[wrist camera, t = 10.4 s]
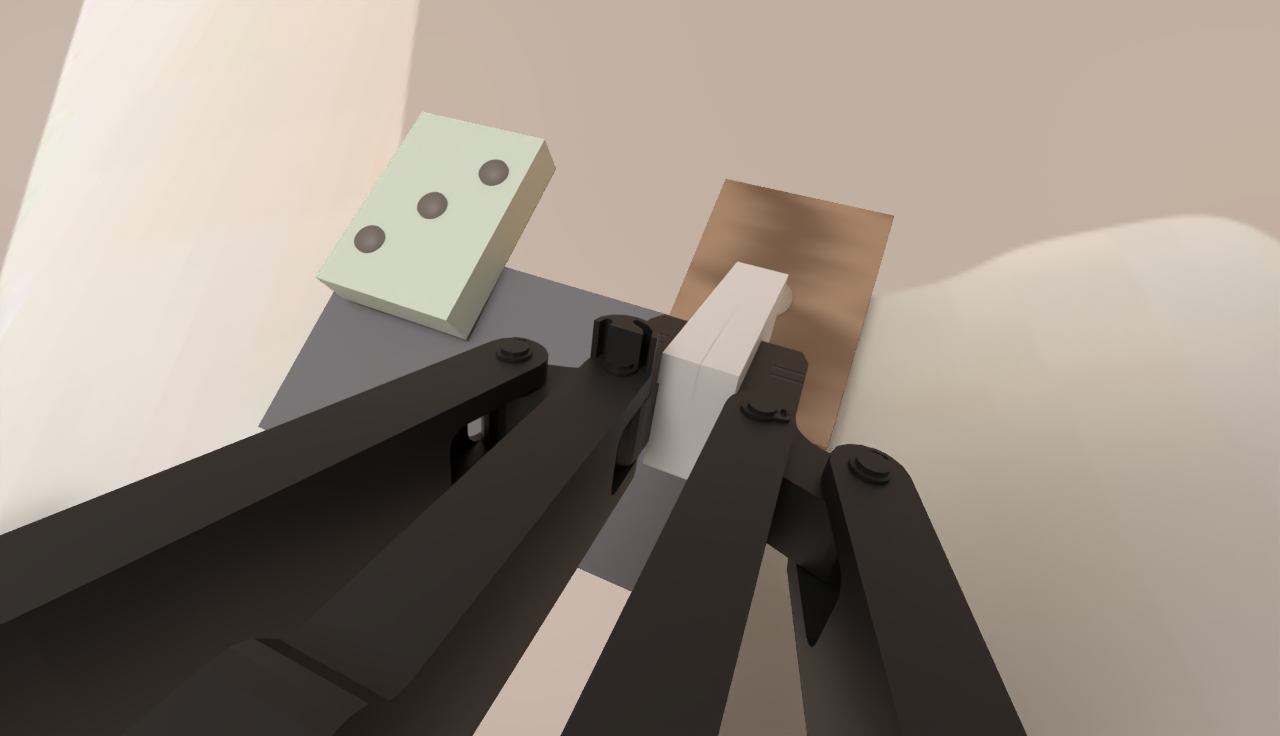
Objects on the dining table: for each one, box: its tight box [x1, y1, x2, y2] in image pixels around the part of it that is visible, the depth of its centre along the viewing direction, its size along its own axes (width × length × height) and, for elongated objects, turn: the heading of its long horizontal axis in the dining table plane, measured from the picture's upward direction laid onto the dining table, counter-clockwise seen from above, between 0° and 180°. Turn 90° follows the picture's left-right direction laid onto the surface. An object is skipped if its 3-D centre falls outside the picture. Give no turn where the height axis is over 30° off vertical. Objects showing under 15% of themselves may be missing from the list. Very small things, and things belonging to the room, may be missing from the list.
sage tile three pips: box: [316, 112, 556, 340], centre depth 26 cm, size 7×2×10 cm
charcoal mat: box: [258, 267, 687, 591], centre depth 24 cm, size 22×11×1 cm, turn 69°
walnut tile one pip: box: [669, 179, 894, 450], centre depth 22 cm, size 7×2×10 cm
